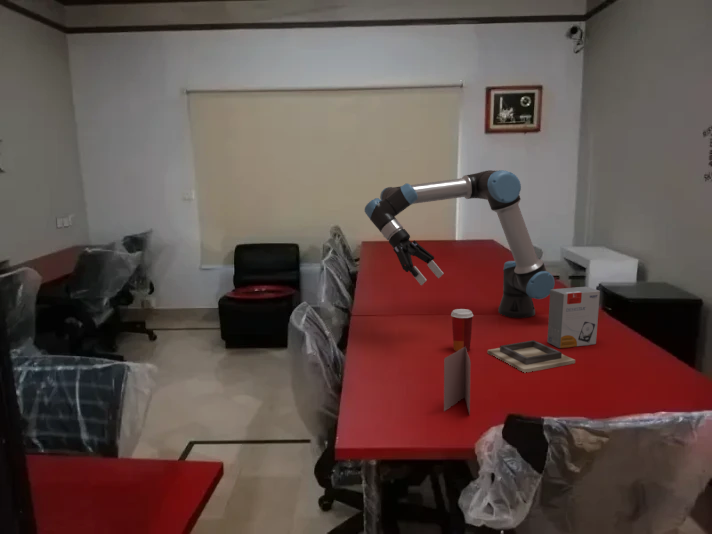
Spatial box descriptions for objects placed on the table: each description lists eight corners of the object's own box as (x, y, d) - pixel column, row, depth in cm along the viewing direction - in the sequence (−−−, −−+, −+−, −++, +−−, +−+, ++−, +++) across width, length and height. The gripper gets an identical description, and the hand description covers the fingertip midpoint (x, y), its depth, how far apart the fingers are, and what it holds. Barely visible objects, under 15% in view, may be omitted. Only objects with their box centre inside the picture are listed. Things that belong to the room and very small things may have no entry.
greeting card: (461, 396, 158) (462, 346, 155) (485, 403, 153) (487, 351, 150) (441, 410, 149) (441, 357, 146) (465, 418, 145) (466, 363, 142)
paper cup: (469, 345, 200) (470, 308, 198) (475, 352, 193) (475, 314, 190) (448, 346, 200) (448, 308, 197) (452, 353, 192) (453, 314, 190)
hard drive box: (559, 349, 194) (562, 293, 190) (546, 342, 201) (548, 289, 198) (597, 344, 198) (600, 290, 194) (583, 338, 205) (586, 285, 202)
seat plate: (487, 353, 192) (487, 344, 191) (534, 345, 199) (535, 336, 198) (524, 373, 174) (524, 363, 173) (575, 363, 181) (575, 354, 180)
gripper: (406, 237, 215) (440, 279, 209) (371, 245, 195) (409, 292, 189) (418, 224, 211) (454, 266, 206) (384, 231, 191) (423, 279, 185)
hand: (432, 279), depth 197 cm, fingers open, 13 cm apart
